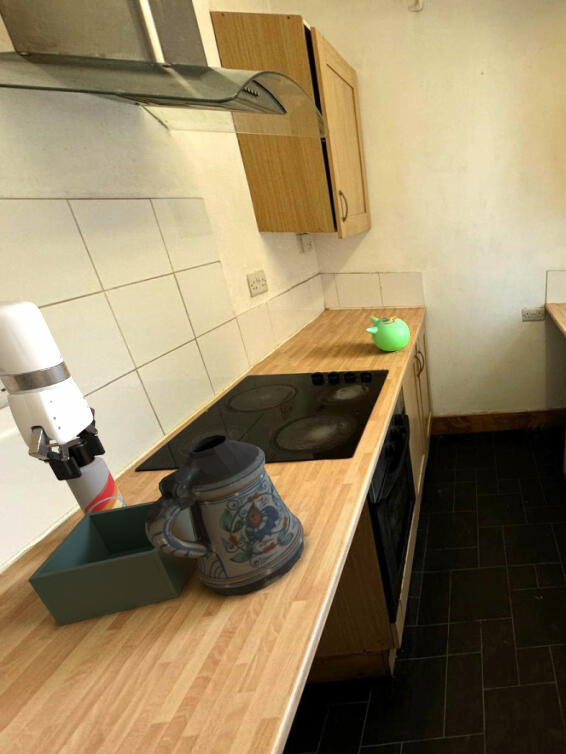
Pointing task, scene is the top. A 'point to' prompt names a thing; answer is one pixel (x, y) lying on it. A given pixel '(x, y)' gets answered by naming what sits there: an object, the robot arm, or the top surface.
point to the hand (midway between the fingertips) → (83, 465)
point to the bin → (111, 566)
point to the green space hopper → (389, 333)
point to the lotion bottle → (92, 480)
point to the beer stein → (227, 518)
